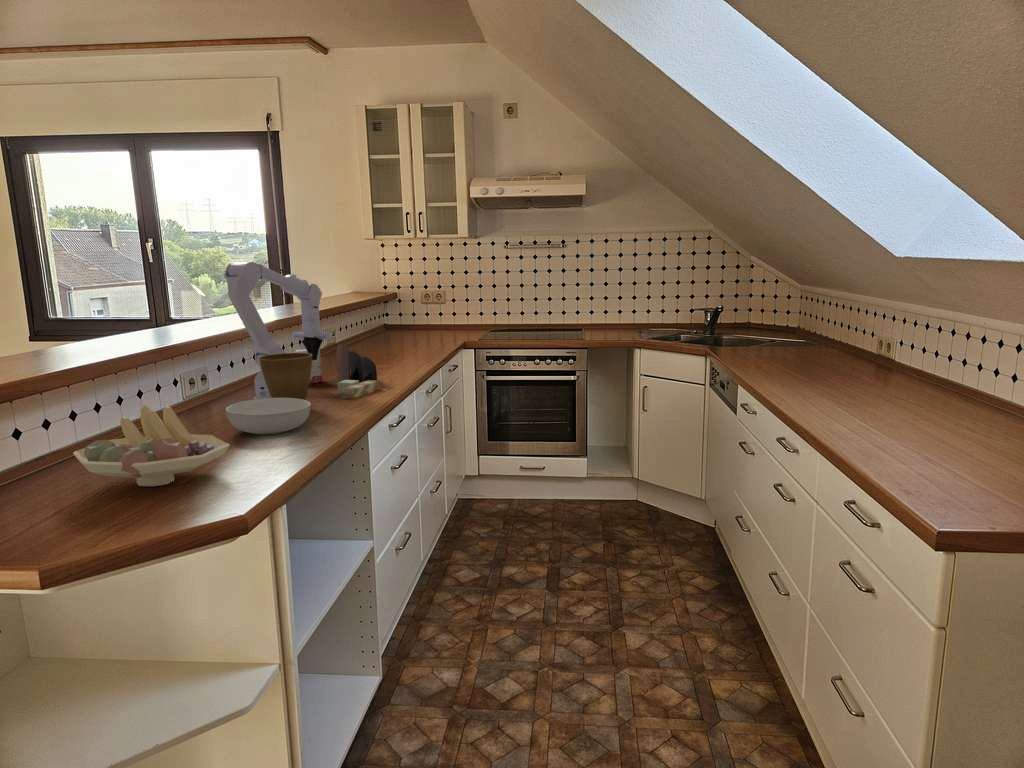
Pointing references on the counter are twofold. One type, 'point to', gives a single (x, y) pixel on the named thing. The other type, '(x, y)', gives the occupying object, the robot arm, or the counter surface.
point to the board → (360, 389)
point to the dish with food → (151, 450)
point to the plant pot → (287, 374)
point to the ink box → (314, 368)
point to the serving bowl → (268, 415)
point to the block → (346, 384)
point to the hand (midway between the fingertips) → (313, 359)
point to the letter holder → (354, 365)
